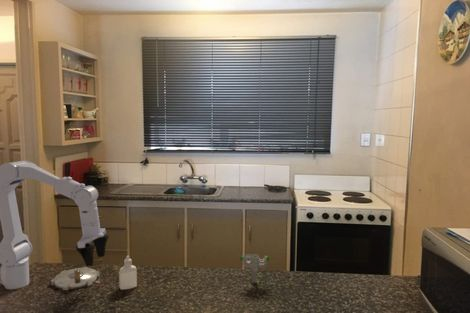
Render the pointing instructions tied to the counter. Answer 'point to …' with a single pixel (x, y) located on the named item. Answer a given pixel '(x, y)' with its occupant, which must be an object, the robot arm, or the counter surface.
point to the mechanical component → (254, 263)
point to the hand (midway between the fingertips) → (95, 260)
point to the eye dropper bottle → (128, 275)
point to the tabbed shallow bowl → (75, 278)
